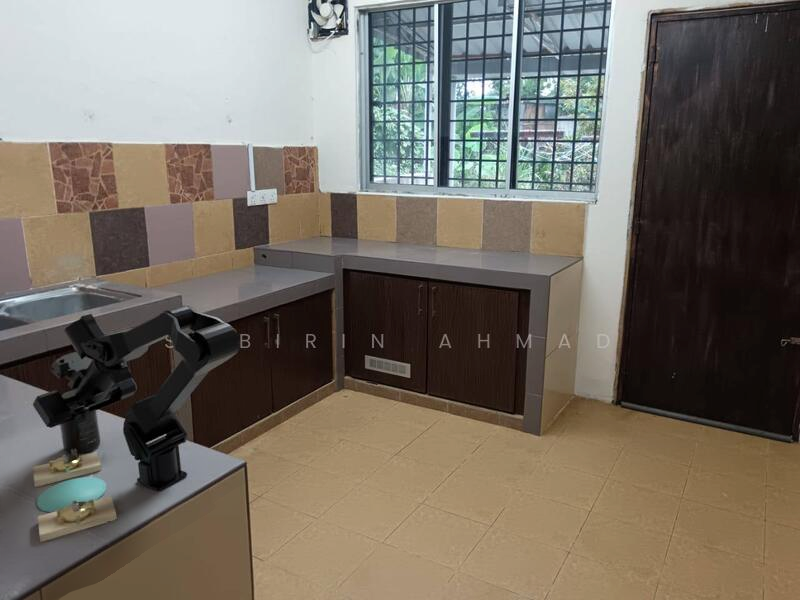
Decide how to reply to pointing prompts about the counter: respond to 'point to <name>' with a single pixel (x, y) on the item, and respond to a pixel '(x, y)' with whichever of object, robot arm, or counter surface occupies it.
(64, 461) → the brass gears
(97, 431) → the supplement bottle
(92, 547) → the counter surface
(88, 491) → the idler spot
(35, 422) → the counter surface
